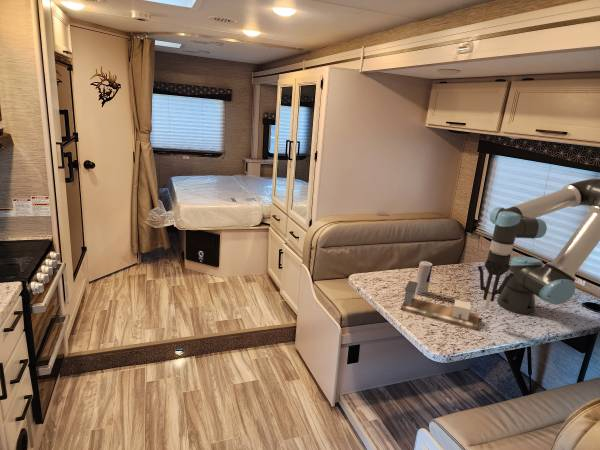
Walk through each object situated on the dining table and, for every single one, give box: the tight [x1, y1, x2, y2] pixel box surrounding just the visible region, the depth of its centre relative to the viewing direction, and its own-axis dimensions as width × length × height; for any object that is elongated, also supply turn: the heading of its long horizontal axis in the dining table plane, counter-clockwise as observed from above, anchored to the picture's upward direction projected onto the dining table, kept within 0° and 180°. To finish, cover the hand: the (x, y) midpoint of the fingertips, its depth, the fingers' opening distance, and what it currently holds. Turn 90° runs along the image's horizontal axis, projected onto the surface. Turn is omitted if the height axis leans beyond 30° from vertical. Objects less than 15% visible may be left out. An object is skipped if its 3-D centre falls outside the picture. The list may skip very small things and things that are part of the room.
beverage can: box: [415, 260, 433, 296], centre depth 181 cm, size 6×6×15 cm
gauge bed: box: [400, 297, 480, 331], centre depth 165 cm, size 30×12×2 cm, turn 65°
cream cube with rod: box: [452, 299, 472, 321], centre depth 160 cm, size 6×10×5 cm, turn 155°
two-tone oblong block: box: [402, 280, 418, 307], centre depth 169 cm, size 4×10×8 cm, turn 155°
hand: (486, 307), depth 156 cm, fingers closed
